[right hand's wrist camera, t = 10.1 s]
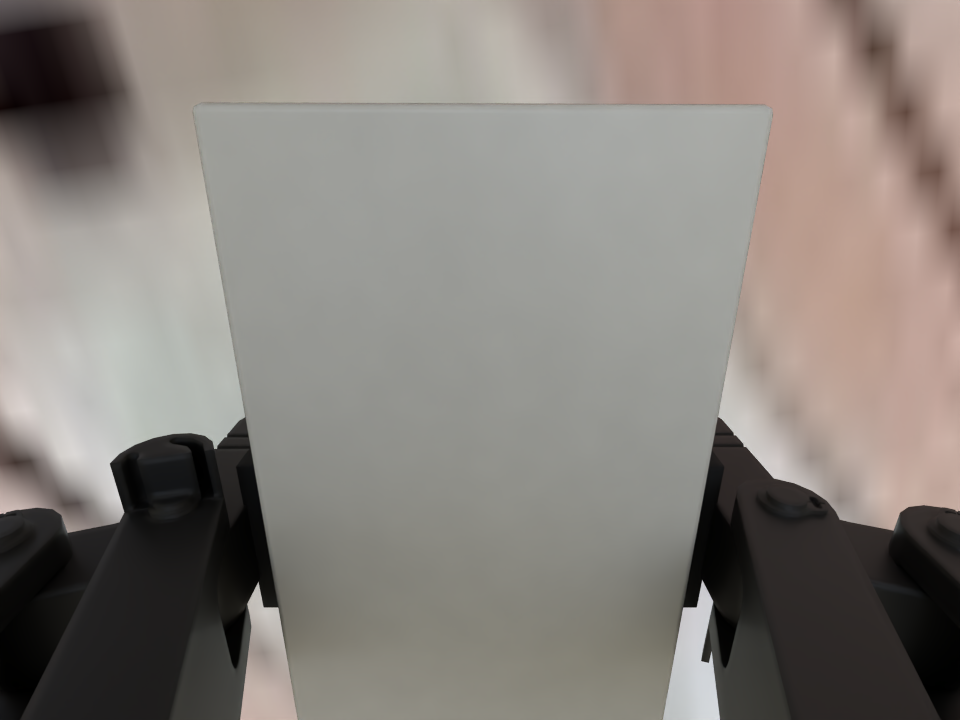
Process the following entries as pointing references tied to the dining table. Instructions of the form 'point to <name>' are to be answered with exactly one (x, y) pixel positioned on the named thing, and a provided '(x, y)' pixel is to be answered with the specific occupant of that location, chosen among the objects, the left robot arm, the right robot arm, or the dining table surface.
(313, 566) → the beam
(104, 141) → the dining table surface
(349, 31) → the dining table surface
